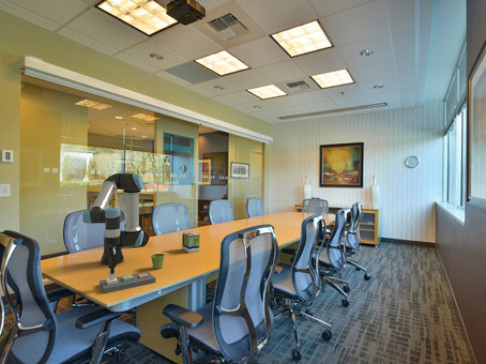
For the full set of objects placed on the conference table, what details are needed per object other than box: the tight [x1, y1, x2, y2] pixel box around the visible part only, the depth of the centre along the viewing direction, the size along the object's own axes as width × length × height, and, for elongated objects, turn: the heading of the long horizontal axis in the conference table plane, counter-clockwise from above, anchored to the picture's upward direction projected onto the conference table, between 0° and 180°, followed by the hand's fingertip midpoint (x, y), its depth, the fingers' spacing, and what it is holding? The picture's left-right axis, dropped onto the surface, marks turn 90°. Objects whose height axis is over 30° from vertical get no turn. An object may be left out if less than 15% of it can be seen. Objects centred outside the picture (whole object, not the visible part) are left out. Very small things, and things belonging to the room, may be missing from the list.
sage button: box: [122, 274, 134, 282], centre depth 154 cm, size 5×5×2 cm
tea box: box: [181, 231, 201, 254], centre depth 230 cm, size 15×10×15 cm
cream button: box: [106, 277, 118, 285], centre depth 149 cm, size 5×5×2 cm
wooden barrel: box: [139, 214, 150, 247], centre depth 245 cm, size 18×18×28 cm
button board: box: [99, 271, 157, 294], centre depth 154 cm, size 14×27×2 cm, turn 127°
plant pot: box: [150, 253, 166, 270], centre depth 183 cm, size 9×9×9 cm
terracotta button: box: [138, 273, 149, 279], centre depth 159 cm, size 5×5×2 cm
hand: (111, 278), depth 149 cm, fingers closed
